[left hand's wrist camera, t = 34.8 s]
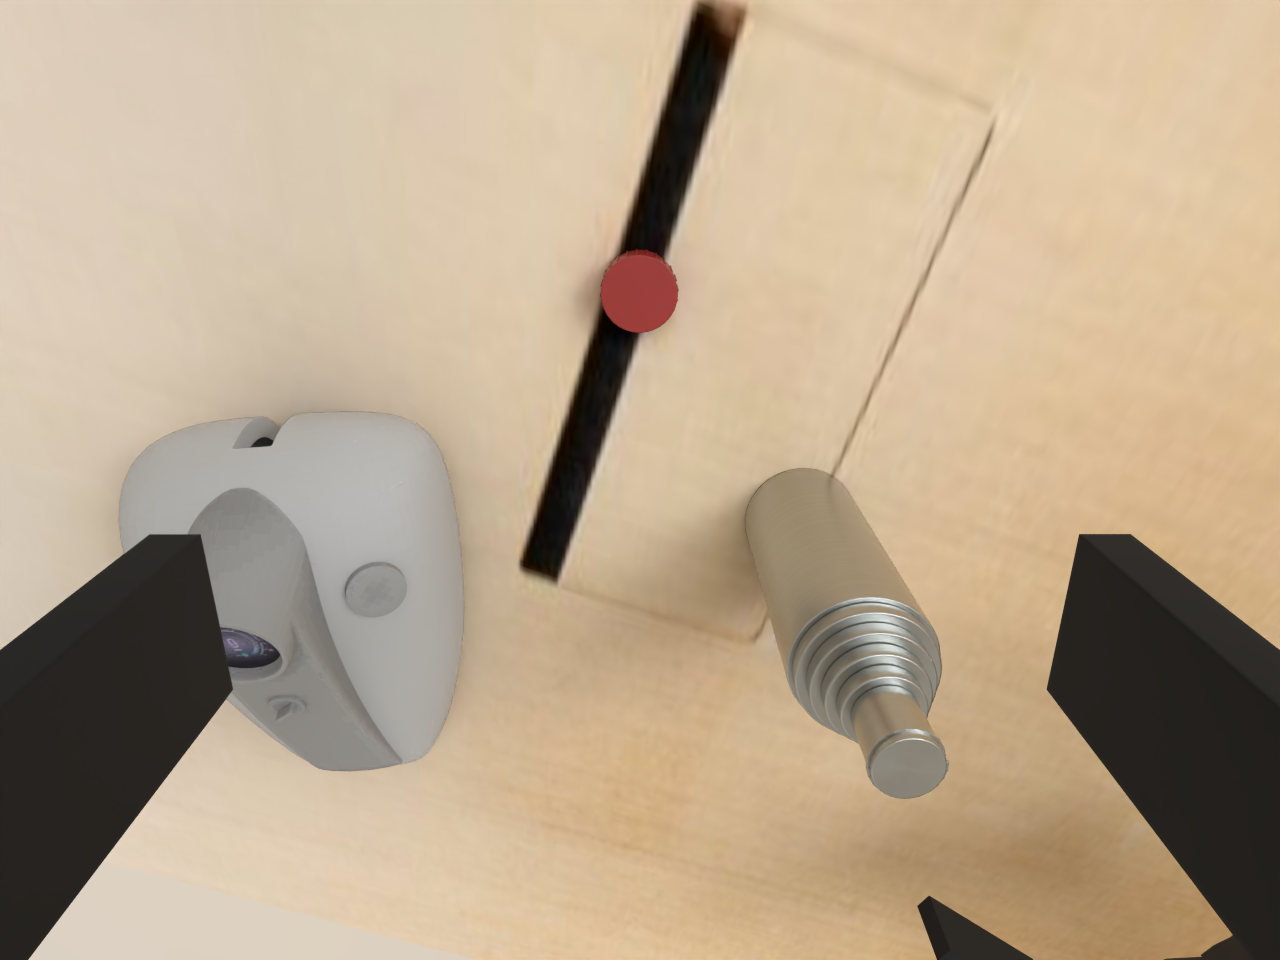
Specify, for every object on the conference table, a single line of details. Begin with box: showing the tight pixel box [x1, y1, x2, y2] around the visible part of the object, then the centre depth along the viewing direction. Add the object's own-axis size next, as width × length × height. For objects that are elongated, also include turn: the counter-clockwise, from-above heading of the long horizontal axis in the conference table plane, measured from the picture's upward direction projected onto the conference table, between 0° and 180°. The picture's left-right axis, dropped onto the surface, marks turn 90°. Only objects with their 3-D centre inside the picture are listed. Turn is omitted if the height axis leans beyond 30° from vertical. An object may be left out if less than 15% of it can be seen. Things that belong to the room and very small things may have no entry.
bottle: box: [745, 468, 949, 799], centre depth 39 cm, size 6×6×21 cm
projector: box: [119, 412, 464, 771], centre depth 43 cm, size 22×23×15 cm
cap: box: [600, 249, 678, 333], centre depth 43 cm, size 4×4×2 cm
